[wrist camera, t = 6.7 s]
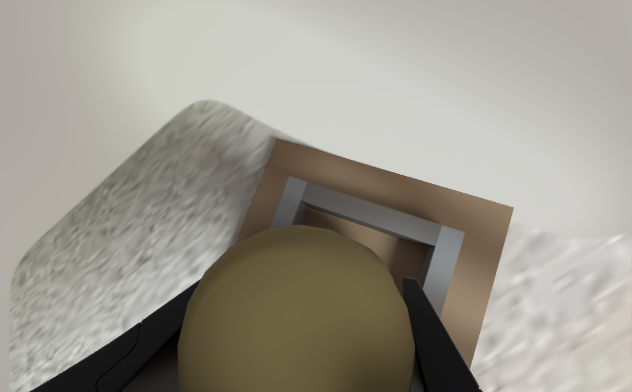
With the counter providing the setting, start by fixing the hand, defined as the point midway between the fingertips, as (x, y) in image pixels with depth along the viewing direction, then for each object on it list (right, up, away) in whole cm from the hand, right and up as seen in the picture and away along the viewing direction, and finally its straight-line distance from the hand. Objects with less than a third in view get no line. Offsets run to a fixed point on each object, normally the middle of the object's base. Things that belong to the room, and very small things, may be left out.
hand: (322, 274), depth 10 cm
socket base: (+2, -3, +10) cm, 11 cm away
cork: (+1, -3, +6) cm, 7 cm away
